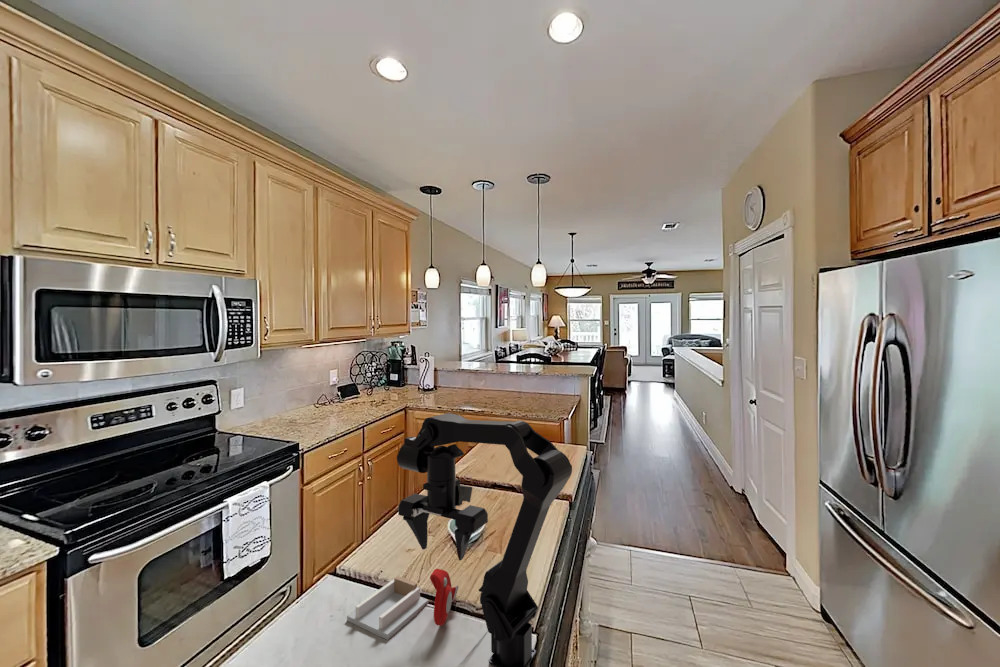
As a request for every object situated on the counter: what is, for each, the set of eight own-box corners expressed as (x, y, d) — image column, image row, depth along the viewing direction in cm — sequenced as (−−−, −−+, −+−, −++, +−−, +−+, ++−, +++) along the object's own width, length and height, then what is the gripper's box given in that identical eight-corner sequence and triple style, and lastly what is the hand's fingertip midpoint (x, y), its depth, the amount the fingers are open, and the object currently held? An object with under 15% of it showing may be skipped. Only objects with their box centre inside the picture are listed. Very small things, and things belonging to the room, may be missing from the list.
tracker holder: (443, 639, 81) (443, 586, 81) (421, 635, 82) (421, 583, 81) (462, 599, 93) (462, 553, 92) (442, 597, 93) (442, 551, 93)
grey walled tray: (428, 604, 91) (428, 585, 91) (387, 639, 80) (387, 618, 80) (389, 589, 96) (389, 571, 96) (346, 620, 86) (346, 600, 86)
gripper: (500, 472, 90) (501, 546, 89) (429, 460, 99) (430, 528, 99) (471, 489, 80) (472, 573, 80) (396, 474, 89) (397, 550, 89)
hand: (442, 553), depth 87 cm, fingers open, 9 cm apart
